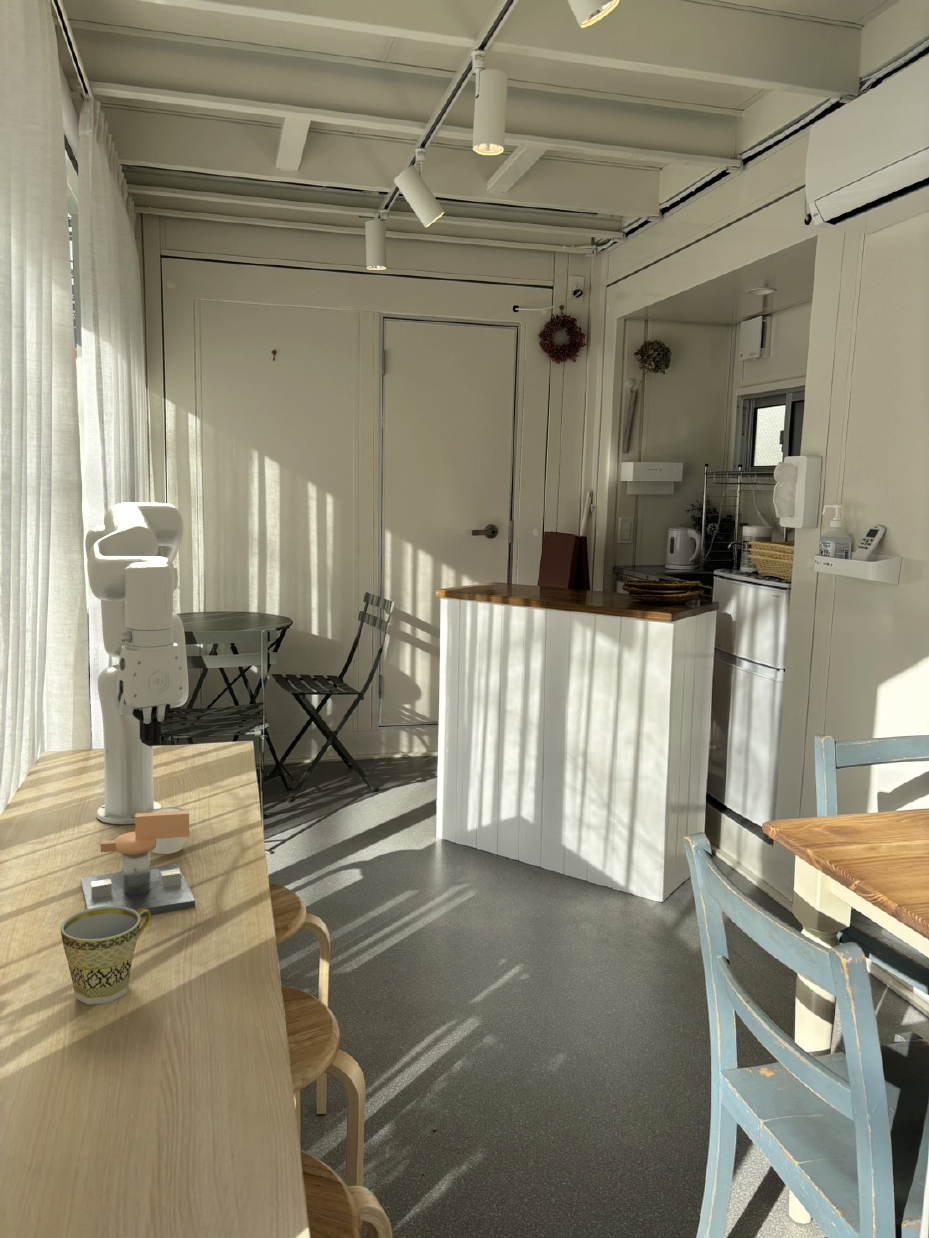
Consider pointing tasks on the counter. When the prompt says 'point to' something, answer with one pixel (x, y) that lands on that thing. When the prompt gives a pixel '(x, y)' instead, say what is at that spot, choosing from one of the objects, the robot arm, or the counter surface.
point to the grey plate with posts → (139, 887)
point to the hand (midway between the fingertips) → (150, 743)
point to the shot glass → (168, 843)
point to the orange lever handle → (149, 832)
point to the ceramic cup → (101, 950)
